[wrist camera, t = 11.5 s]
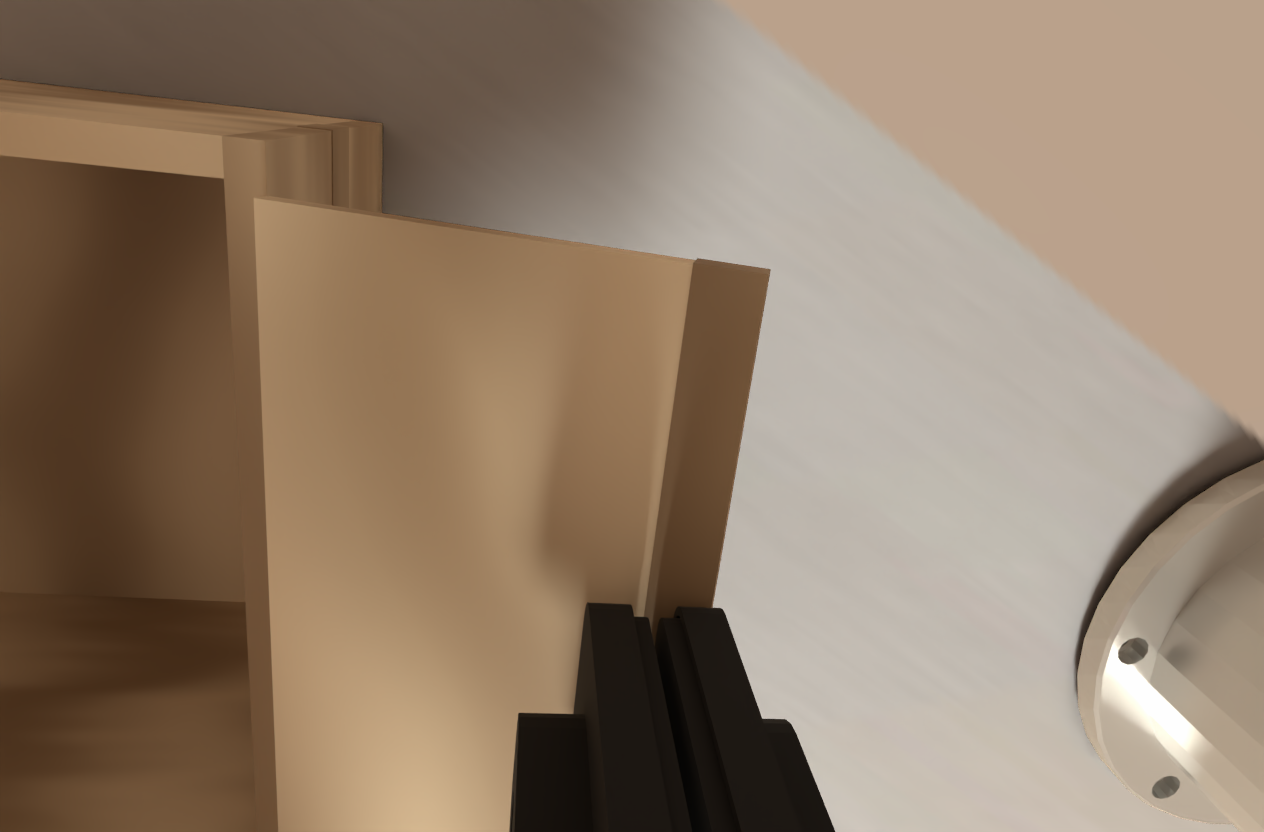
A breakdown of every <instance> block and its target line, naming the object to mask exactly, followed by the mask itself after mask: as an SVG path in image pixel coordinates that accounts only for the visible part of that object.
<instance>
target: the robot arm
mask: <svg viewBox="0 0 1264 832" xmlns="http://www.w3.org/2000/svg"><path fill="white" fill-rule="evenodd" d="M1077 685H1078V708H1079V711H1080V715H1081V718H1082V722H1083V726H1084V729H1085V733H1086V735H1087V737H1088V739H1089V740H1090V742H1091V744H1092V745H1093V747H1094V749H1095V750H1096V752H1097V754H1098V755H1099V757H1100V759H1101V760H1102V761H1103V762H1104V763H1105V764H1106V766H1107V767H1108V768H1109V769H1110V770H1111V771H1112V772H1113V773H1114V775H1115V776H1116V777H1117V778H1118V779H1119V780H1120V781H1121V783H1122V784H1123V785H1124V786H1125V787H1126V789H1127V790H1129V791H1130V792H1131V793H1132V794H1134V795H1135V796H1136V797H1138V798H1139V799H1140V800H1141V801H1143V802H1144V803H1146V804H1147V805H1149V806H1151V807H1153V808H1156V809H1158V810H1160V811H1163V812H1165V813H1168V814H1170V815H1173V816H1175V817H1177V818H1181V819H1187V820H1192V821H1197V822H1203V823H1208V824H1233V825H1234V826H1235V827H1236V828H1237V829H1238V830H1239V831H1240V832H1264V460H1263V461H1260V462H1258V463H1256V464H1254V465H1252V466H1250V467H1247V468H1245V469H1243V470H1241V471H1239V472H1237V473H1235V474H1232V475H1230V476H1228V477H1226V478H1224V479H1222V480H1221V481H1219V482H1218V483H1216V484H1215V485H1213V486H1212V487H1210V488H1209V489H1207V490H1205V491H1204V492H1202V493H1201V494H1199V495H1198V496H1196V497H1195V498H1193V499H1192V500H1190V501H1189V502H1187V503H1185V504H1184V505H1183V506H1182V507H1181V508H1179V509H1178V510H1177V511H1176V512H1175V513H1174V514H1173V515H1171V516H1170V517H1169V518H1168V519H1167V520H1166V521H1164V522H1163V523H1162V524H1161V525H1160V526H1159V527H1158V528H1156V529H1155V530H1154V531H1153V532H1152V533H1151V534H1150V535H1149V536H1148V537H1147V538H1146V539H1145V540H1144V542H1143V543H1142V544H1141V545H1140V546H1139V547H1138V549H1137V550H1136V551H1135V552H1134V553H1133V554H1132V556H1131V557H1130V558H1129V559H1128V560H1127V561H1126V563H1125V564H1124V565H1123V566H1122V567H1121V569H1120V570H1119V572H1118V573H1117V575H1116V577H1115V578H1114V580H1113V581H1112V583H1111V585H1110V586H1109V588H1108V590H1107V591H1106V593H1105V594H1104V596H1103V598H1102V599H1101V601H1100V602H1099V604H1098V606H1097V609H1096V611H1095V614H1094V616H1093V619H1092V621H1091V624H1090V626H1089V629H1088V631H1087V634H1086V636H1085V638H1084V642H1083V647H1082V652H1081V657H1080V663H1079V668H1078V673H1077ZM509 832H835V830H834V828H833V825H832V822H831V820H830V817H829V815H828V812H827V810H826V807H825V805H824V802H823V800H822V797H821V795H820V792H819V790H818V787H817V785H816V782H815V780H814V777H813V775H812V772H811V770H810V767H809V765H808V762H807V760H806V757H805V755H804V752H803V750H802V747H801V745H800V742H799V740H798V737H797V735H796V733H795V731H794V729H793V727H792V725H791V723H789V722H788V721H787V720H785V719H762V717H761V714H760V711H759V709H758V706H757V703H756V700H755V697H754V694H753V692H752V689H751V686H750V683H749V680H748V677H747V675H746V672H745V669H744V666H743V663H742V660H741V658H740V655H739V652H738V649H737V646H736V644H735V641H734V638H733V635H732V632H731V629H730V627H729V624H728V621H727V618H726V615H725V613H724V611H723V609H721V608H705V607H681V606H678V607H677V608H676V610H675V613H674V617H673V618H660V619H659V622H658V627H657V633H656V640H655V646H654V641H653V636H652V631H651V626H650V622H649V618H648V617H636V616H634V612H633V608H632V605H631V604H612V603H589V602H587V604H586V608H585V614H584V622H583V631H582V640H581V649H580V658H579V667H578V676H577V685H576V694H575V703H574V712H573V714H553V713H518V721H517V732H516V743H515V755H514V768H513V781H512V795H511V811H510V828H509Z"/></svg>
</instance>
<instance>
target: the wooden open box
mask: <svg viewBox="0 0 1264 832" xmlns="http://www.w3.org/2000/svg"><path fill="white" fill-rule="evenodd" d="M382 161H383V123H376V122H368V121H359V120H350V119H342V118H333V117H324V116H316V115H307V114H299V113H290V112H281V111H273V110H264V109H255V108H247V107H238V106H229V105H221V104H212V103H204V102H195V101H186V100H178V99H169V98H160V97H152V96H143V95H134V94H126V93H117V92H109V91H100V90H91V89H83V88H74V87H65V86H57V85H48V84H39V83H31V82H22V81H13V80H5V79H0V832H278V812H277V786H276V761H275V735H274V710H273V684H272V658H271V633H270V607H269V581H268V556H267V530H266V505H265V479H264V453H263V428H262V402H261V376H260V351H259V325H258V300H257V274H256V248H255V223H254V198H256V197H265V196H272V197H279V198H286V199H292V200H299V201H306V202H312V203H319V204H325V205H332V206H339V207H345V208H352V209H359V210H365V211H372V212H379V213H382Z"/></svg>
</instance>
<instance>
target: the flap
mask: <svg viewBox="0 0 1264 832" xmlns="http://www.w3.org/2000/svg"><path fill="white" fill-rule="evenodd" d="M254 223H255V248H256V274H257V300H258V325H259V351H260V376H261V402H262V428H263V453H264V479H265V505H266V530H267V556H268V581H269V607H270V633H271V658H272V684H273V710H274V735H275V761H276V786H277V812H278V832H509V828H510V811H511V795H512V781H513V768H514V755H515V743H516V732H517V721H518V713H553V714H573V712H574V703H575V694H576V685H577V676H578V667H579V658H580V649H581V640H582V631H583V622H584V614H585V608H586V604H587V602H589V603H612V604H631V605H632V608H633V612H634V616H636V617H648V618H649V622H650V626H651V631H652V636H653V641H654V646H655V640H656V633H657V627H658V622H659V619H660V618H673V617H674V613H675V610H676V608H677V607H678V606H681V607H705V608H712V607H713V602H714V596H715V590H716V584H717V578H718V572H719V567H720V561H721V555H722V549H723V543H724V538H725V532H726V526H727V520H728V514H729V508H730V503H731V497H732V491H733V485H734V479H735V474H736V468H737V462H738V456H739V450H740V444H741V439H742V433H743V427H744V421H745V415H746V410H747V404H748V398H749V392H750V386H751V380H752V375H753V369H754V363H755V357H756V351H757V346H758V340H759V334H760V328H761V322H762V317H763V311H764V305H765V299H766V293H767V287H768V282H769V276H770V270H771V269H765V268H758V267H751V266H745V265H738V264H731V263H725V262H718V261H712V260H705V259H697V260H691V259H684V258H677V257H671V256H664V255H657V254H651V253H644V252H637V251H631V250H624V249H618V248H611V247H604V246H598V245H591V244H584V243H578V242H571V241H564V240H558V239H551V238H545V237H538V236H531V235H525V234H518V233H511V232H505V231H498V230H491V229H485V228H478V227H471V226H465V225H458V224H452V223H445V222H438V221H432V220H425V219H418V218H412V217H405V216H398V215H392V214H385V213H379V212H372V211H365V210H359V209H352V208H345V207H339V206H332V205H325V204H319V203H312V202H306V201H299V200H292V199H286V198H279V197H272V196H265V197H256V198H254Z"/></svg>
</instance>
